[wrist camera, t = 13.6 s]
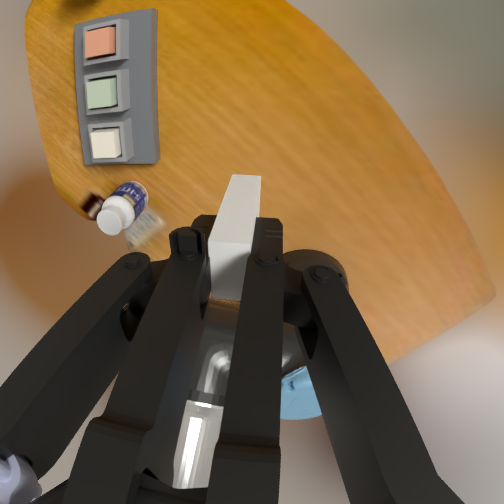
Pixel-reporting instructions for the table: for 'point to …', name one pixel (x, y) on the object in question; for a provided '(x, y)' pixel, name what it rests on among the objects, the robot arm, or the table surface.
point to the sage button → (102, 93)
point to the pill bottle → (122, 207)
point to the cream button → (106, 142)
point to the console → (122, 87)
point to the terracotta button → (100, 42)
